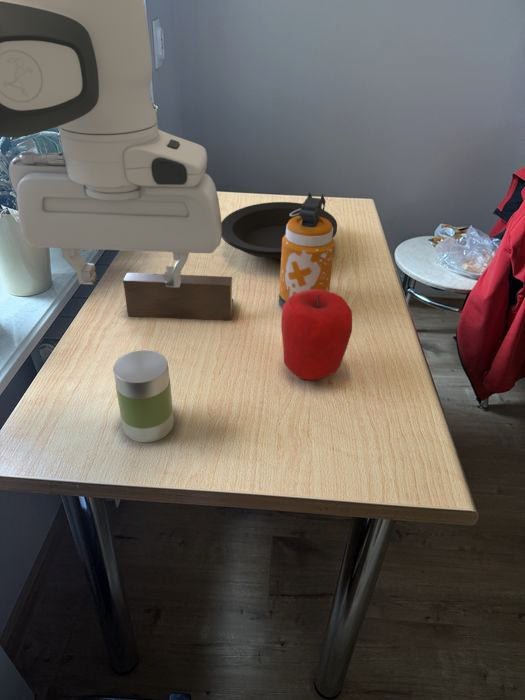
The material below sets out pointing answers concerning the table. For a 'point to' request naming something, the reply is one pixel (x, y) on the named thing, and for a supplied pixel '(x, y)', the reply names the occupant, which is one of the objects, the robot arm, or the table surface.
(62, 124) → the robot arm
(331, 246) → the canister
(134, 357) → the can
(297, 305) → the apple
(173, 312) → the brown wooden block
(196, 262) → the table surface
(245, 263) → the table surface
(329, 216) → the plate
